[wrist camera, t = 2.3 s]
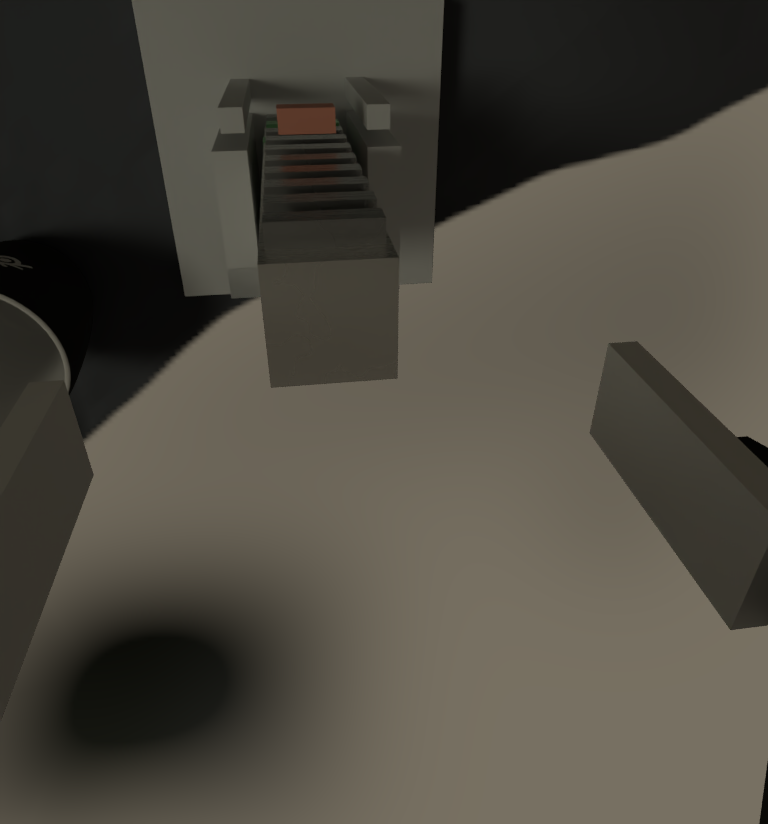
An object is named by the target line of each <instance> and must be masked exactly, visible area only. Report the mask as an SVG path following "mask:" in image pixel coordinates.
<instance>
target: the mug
mask: <svg viewBox="0 0 768 824" xmlns="http://www.w3.org/2000/svg"><path fill="white" fill-rule="evenodd" d="M92 321H93V302H92V296H91V292H90V289H89V286H88V284H87V282H86V280H85V278H84V276H83V275H82V273H81V272H80V270H79V269H78V268H77V267H76V266H75V265H74V264H73V263H72V262H71V261H70V260H69V259H68V258H67V257H65V256H64V255H63V254H61V253H60V252H58V251H56V250H54V249H52V248H50V247H48V246H45V245H42V244H39V243H35V242H30V241H21V240H12V241H3V242H0V427H1V426H2V424H3V423H4V421H5V419H6V418H7V416H8V415H9V413H10V412H11V410H12V408H13V407H14V405H15V404H16V402H17V400H18V399H19V397H20V396H21V394H22V393H23V391H24V389H25V388H26V386H27V385H28V383H29V382H44V381H59V380H64V381H65V385H66V388H67V391H68V394H69V395H70V393H71V391H72V389H73V387H74V385H75V382H76V380H77V377H78V375H79V372H80V369H81V367H82V364H83V361H84V358H85V354H86V351H87V347H88V343H89V339H90V334H91V329H92Z"/></svg>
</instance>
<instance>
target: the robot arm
mask: <svg viewBox="0 0 768 824" xmlns="http://www.w3.org/2000/svg"><path fill="white" fill-rule="evenodd" d="M590 434H591V435H592V437H593V438H594V440H595V441H596V443H597V444H598V445H599V447H600V448H601V450H602V451H603V452H604V453H605V455H606V457H607V458H608V459H609V461H610V462H611V464H612V465H613V466H614V468H615V469H616V470H617V472H618V473H619V475H620V476H621V477H622V479H623V480H624V482H625V483H626V484H627V486H628V487H629V489H630V490H631V491H632V493H633V494H634V496H635V497H636V499H637V500H638V501H639V503H640V504H641V505H642V507H643V508H644V510H645V511H646V512H647V514H648V515H649V517H650V518H651V520H652V521H653V522H654V524H655V525H656V527H657V528H658V529H659V531H660V532H661V534H662V535H663V536H664V538H665V539H666V540H667V542H668V543H669V545H670V546H671V548H672V549H673V550H674V552H675V553H676V555H677V556H678V557H679V559H680V560H681V561H682V563H683V564H684V566H685V567H686V569H687V570H688V571H689V573H690V574H691V575H692V577H693V578H694V580H695V581H696V583H697V584H698V585H699V587H700V588H701V590H702V591H703V592H704V594H705V595H706V597H707V598H708V599H709V600H710V602H711V604H712V605H713V606H714V608H715V609H716V610H717V612H718V613H719V615H720V616H721V618H722V619H723V620H724V622H725V623H726V625H727V626H728V627H729V629H730V630H735V629H742V628H750V627H759V626H766V625H768V448H767V447H766V446H764V445H762V444H760V443H758V442H756V441H754V440H753V439H751V438H749V437H736V436H735V435H734V434H733V433H732V432H731V431H730V430H728V429H727V428H726V427H725V426H724V425H723V424H722V423H721V422H720V421H719V420H718V419H717V418H716V417H715V416H714V415H713V414H712V413H711V412H710V411H709V410H708V409H707V408H706V407H705V406H704V405H703V404H702V403H700V402H699V401H698V400H697V399H696V398H695V397H694V396H693V395H692V394H691V393H690V392H689V391H688V390H687V389H686V388H685V387H684V386H683V385H682V384H681V383H680V382H679V381H678V380H677V379H676V378H674V376H672V375H671V374H670V373H669V372H668V371H667V370H666V369H665V368H664V367H663V366H662V365H661V364H660V363H659V362H658V361H657V360H656V359H655V358H653V356H652V355H651V354H650V353H649V352H648V351H646V350H645V349H644V348H643V347H642V346H641V345H640V344H639V343H638V342H622V343H609V344H608V348H607V353H606V358H605V363H604V368H603V373H602V377H601V382H600V386H599V391H598V396H597V401H596V406H595V410H594V415H593V420H592V425H591V429H590ZM92 478H93V471H92V468H91V465H90V462H89V459H88V455H87V452H86V449H85V446H84V442H83V439H82V436H81V433H80V430H79V426H78V423H77V420H76V417H75V414H74V410H73V407H72V404H71V401H70V397H69V394H68V391H67V388H66V385H65V381H64V380H59V381H44V382H29V383H28V385H27V386H26V388H25V389H24V391H23V393H22V394H21V396H20V397H19V399H18V400H17V402H16V404H15V405H14V407H13V408H12V410H11V412H10V413H9V415H8V416H7V418H6V419H5V421H4V423H3V424H2V426H1V427H0V721H1V719H2V717H3V714H4V712H5V709H6V706H7V704H8V701H9V698H10V696H11V693H12V690H13V688H14V685H15V682H16V680H17V677H18V674H19V672H20V669H21V666H22V664H23V661H24V658H25V656H26V653H27V651H28V648H29V645H30V642H31V640H32V637H33V635H34V632H35V629H36V626H37V624H38V621H39V619H40V616H41V613H42V611H43V608H44V605H45V603H46V600H47V597H48V595H49V592H50V589H51V587H52V584H53V581H54V579H55V576H56V573H57V571H58V568H59V565H60V563H61V560H62V557H63V555H64V552H65V549H66V547H67V544H68V542H69V539H70V536H71V533H72V530H73V528H74V526H75V523H76V520H77V518H78V515H79V512H80V510H81V507H82V504H83V501H84V499H85V496H86V494H87V491H88V488H89V486H90V483H91V480H92ZM760 824H768V763H767V771H766V778H765V786H764V793H763V801H762V809H761V816H760Z"/></svg>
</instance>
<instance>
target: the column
mask: <svg viewBox="0 0 768 824" xmlns="http://www.w3.org/2000/svg"><path fill="white" fill-rule="evenodd" d="M266 118H267V121H266V125H265V127H264V137H263V165H262V184H261V203H260V222H259V241H258V260H257V267H258V276H259V285H260V294H261V302H262V311H263V320H264V329H265V338H266V347H267V355H268V365H269V374H270V383H271V388H273V387H286V386H300V385H314V384H327V383H340V382H354V381H368V380H381V379H394V378H395V379H396V378H397V366H398V364H397V363H398V362H397V361H398V295H399V294H398V293H399V256H398V254H397V252H396V250H395V248H394V246H393V244H392V241H391V239H390V237H389V235H388V233H387V231H386V216H385V214H384V212H383V210H382V208H377V198H376V196H375V194H374V192H373V191H369V182H368V180H367V178H366V176H363V173H362V168H361V166H360V164H357V158H356V156H355V154H354V153H352V149H351V146H350V143H347V137H346V135H345V134H343V129H342V127H341V126H339V121H338V119H336V115H335V120H336V133H331V134H293V135H279V134H278V122H277V114H268V115H267V117H266Z"/></svg>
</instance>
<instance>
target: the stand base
mask: <svg viewBox="0 0 768 824" xmlns="http://www.w3.org/2000/svg"><path fill="white" fill-rule="evenodd" d="M132 5H133V11H134V16H135V22H136V27H137V33H138V38H139V44H140V49H141V55H142V60H143V66H144V72H145V77H146V83H147V88H148V94H149V99H150V105H151V110H152V116H153V121H154V127H155V132H156V138H157V144H158V149H159V155H160V160H161V166H162V171H163V177H164V182H165V188H166V193H167V199H168V205H169V210H170V216H171V221H172V227H173V232H174V238H175V243H176V249H177V254H178V260H179V265H180V271H181V277H182V282H183V288H184V293H185V296H202V295H220V294H231V298H248V297H261V294H260V285H259V276H258V267H257V260H258V241H259V222H260V203H261V184H262V165H263V137H264V127H265V125H266V121H267V118H266V117H267V115H268V114H277V122H278V134H279V135H293V134H331V133H336V120H335V115H336V119H338V121H339V126H341V127H342V129H343V134H345V135H346V137H347V143H350V146H351V149H352V153H354V154H355V156H356V158H357V164H360V166H361V168H362V173H363V176H366V178H367V180H368V182H369V191H373V192H374V194H375V196H376V198H377V208H382V210H383V212H384V214H385V216H386V231H387V233H388V235H389V237H390V239H391V241H392V244H393V246H394V248H395V250H396V252H397V254H398V256H399V285H400V284H417V283H432V267H433V243H434V221H435V198H436V175H437V152H438V129H439V106H440V83H441V60H442V37H443V14H444V0H132Z"/></svg>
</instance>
